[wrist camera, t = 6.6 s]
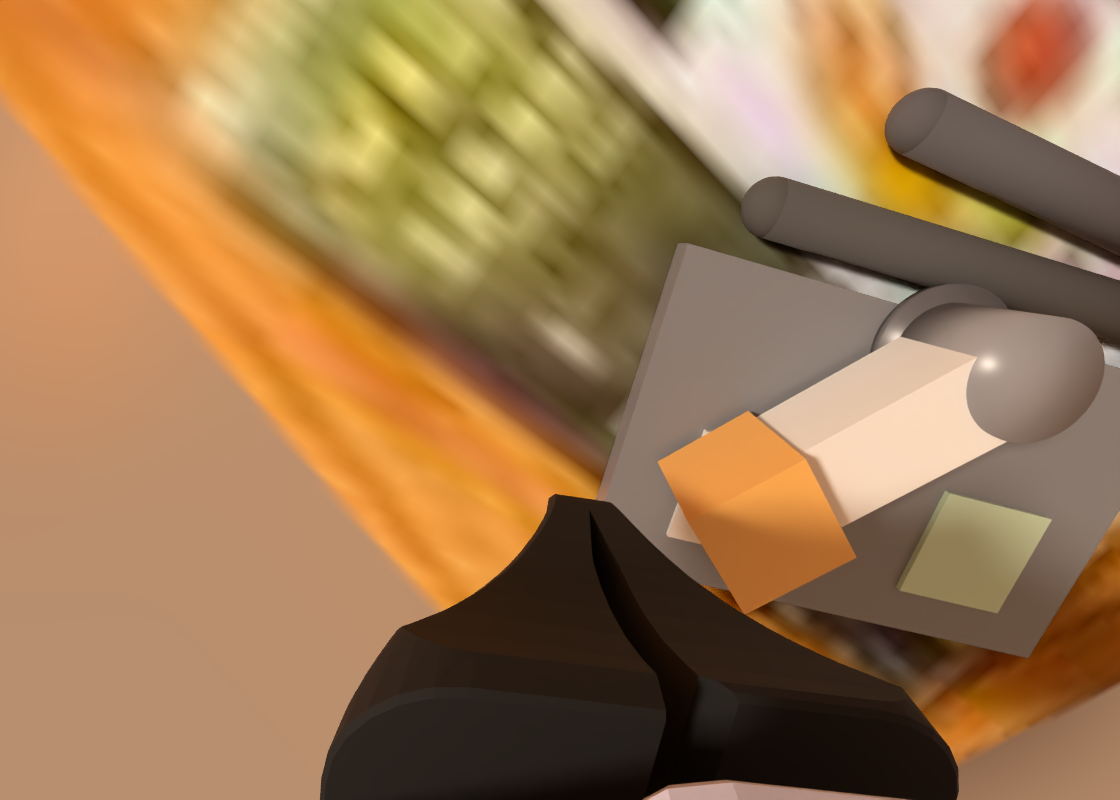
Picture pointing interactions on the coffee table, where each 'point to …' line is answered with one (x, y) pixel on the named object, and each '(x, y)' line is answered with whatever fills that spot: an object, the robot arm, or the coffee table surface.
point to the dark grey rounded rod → (1007, 164)
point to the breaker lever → (876, 439)
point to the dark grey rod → (927, 253)
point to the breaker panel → (905, 523)
